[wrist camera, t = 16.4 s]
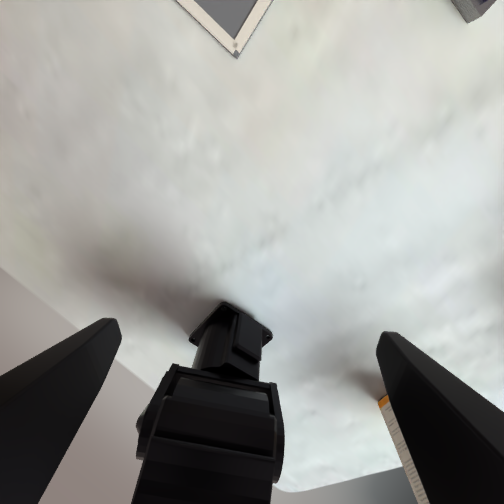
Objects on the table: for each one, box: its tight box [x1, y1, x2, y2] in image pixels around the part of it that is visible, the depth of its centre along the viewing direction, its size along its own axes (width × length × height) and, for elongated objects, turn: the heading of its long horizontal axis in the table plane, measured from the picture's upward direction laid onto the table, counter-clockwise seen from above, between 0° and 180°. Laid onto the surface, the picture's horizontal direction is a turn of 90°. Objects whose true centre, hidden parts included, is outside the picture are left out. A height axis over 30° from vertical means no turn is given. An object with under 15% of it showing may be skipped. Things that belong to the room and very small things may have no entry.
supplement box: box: [378, 395, 430, 504], centre depth 23 cm, size 8×5×13 cm, turn 64°
